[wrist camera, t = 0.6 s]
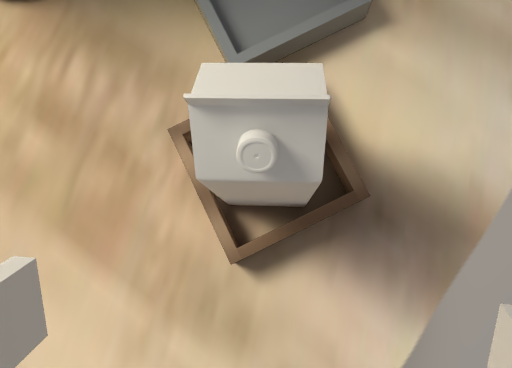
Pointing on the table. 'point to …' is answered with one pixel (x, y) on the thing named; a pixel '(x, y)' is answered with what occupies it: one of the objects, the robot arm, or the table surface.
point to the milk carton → (259, 131)
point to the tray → (275, 25)
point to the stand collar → (236, 253)
